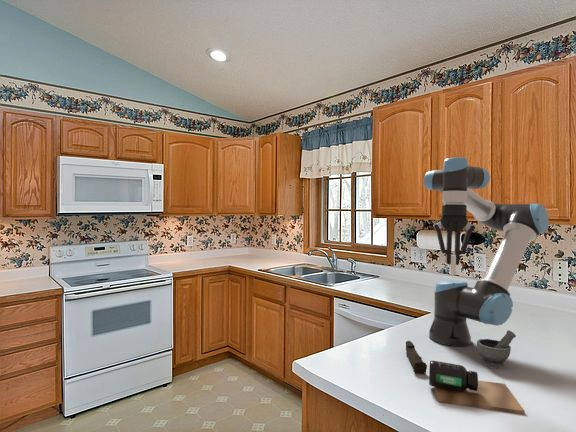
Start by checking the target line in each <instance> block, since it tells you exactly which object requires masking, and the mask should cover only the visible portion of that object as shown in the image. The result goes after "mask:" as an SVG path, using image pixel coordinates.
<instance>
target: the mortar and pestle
mask: <svg viewBox="0 0 576 432" xmlns="http://www.w3.org/2000/svg"><path fill="white" fill-rule="evenodd" d="M516 337H517V335H516V334H515V333H514V332H513V331H511V330H507V331H506V332H505V334H504V336H502V338H501V339H500V340H496V339H491V338H490V339H488V338H481V339H479V338H478V340H476V350H477V352H478V354H479V356H480V357H481V358H482V360H481V364H483V366H486V367H488V368H490V369H491V368H492V369H497V370H498V369H503V368H504V367H505V366H504V365H505V364H504V363H505V362H507V360H508V359H509V357H510V356H511V348H512V347H511V343H512V341H513V340H514V339H515V338H516Z"/></svg>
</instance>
